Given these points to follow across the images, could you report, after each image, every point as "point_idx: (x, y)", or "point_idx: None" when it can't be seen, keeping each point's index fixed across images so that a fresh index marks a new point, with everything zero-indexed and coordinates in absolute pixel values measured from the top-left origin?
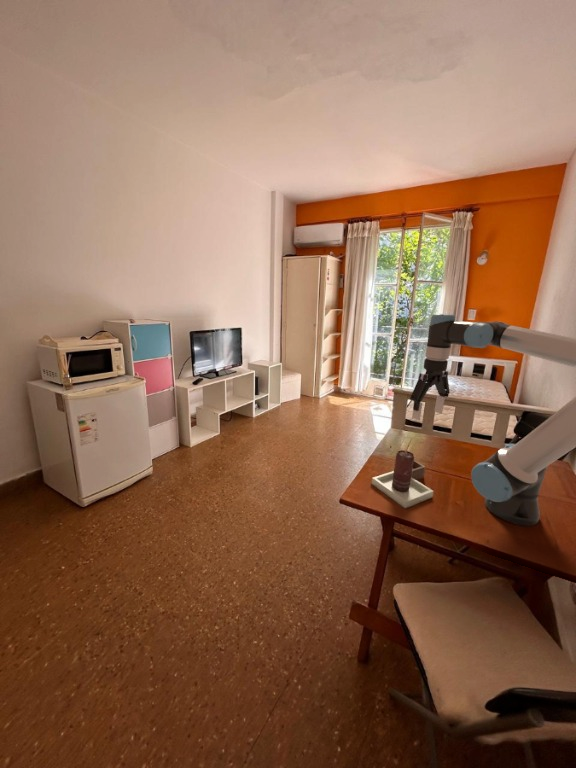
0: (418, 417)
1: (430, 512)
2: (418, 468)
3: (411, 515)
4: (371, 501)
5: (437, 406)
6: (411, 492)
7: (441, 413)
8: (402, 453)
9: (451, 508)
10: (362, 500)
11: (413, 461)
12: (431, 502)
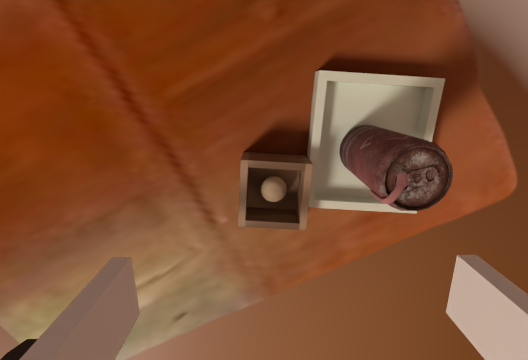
0: (491, 273)
1: (388, 28)
2: (275, 164)
3: (446, 49)
4: (478, 149)
5: (108, 342)
6: (355, 116)
7: (123, 258)
8: (417, 191)
9: (316, 4)
10: (493, 164)
11: (399, 140)
12: (341, 57)
